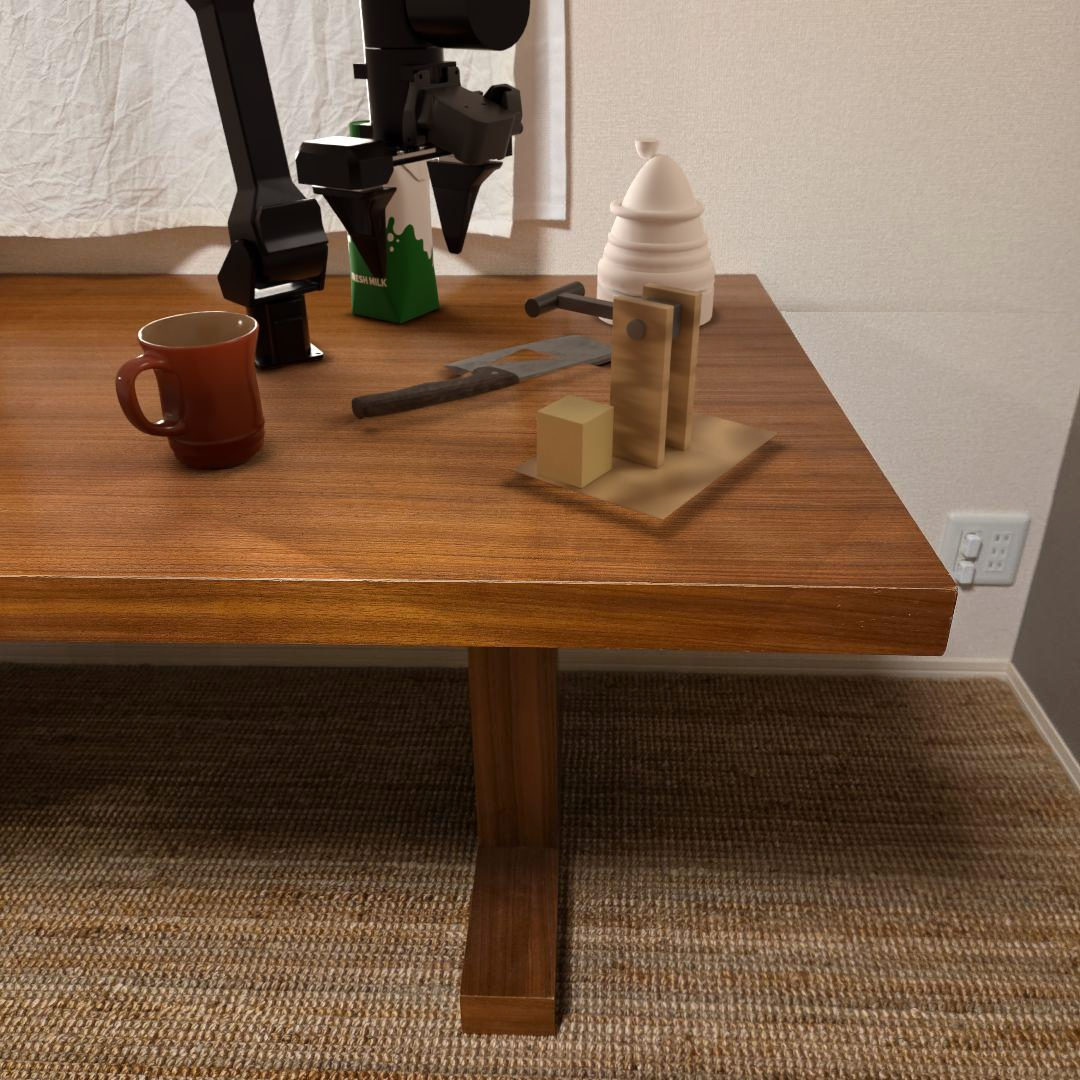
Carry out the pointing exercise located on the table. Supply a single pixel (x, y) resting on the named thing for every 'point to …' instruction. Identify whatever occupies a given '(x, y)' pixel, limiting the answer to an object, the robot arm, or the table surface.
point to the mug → (200, 387)
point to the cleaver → (485, 375)
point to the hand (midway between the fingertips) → (419, 265)
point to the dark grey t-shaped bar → (586, 304)
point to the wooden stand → (660, 411)
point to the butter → (574, 440)
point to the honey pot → (657, 235)
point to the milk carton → (399, 251)
